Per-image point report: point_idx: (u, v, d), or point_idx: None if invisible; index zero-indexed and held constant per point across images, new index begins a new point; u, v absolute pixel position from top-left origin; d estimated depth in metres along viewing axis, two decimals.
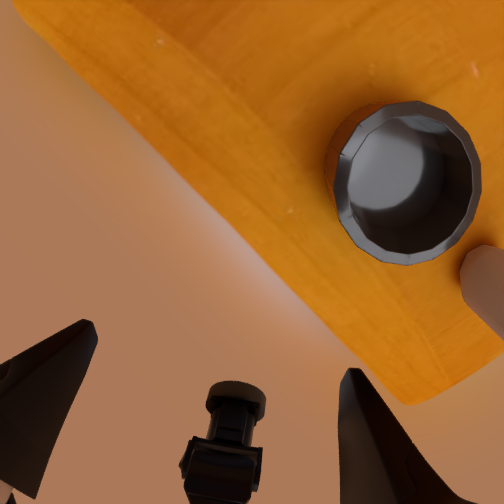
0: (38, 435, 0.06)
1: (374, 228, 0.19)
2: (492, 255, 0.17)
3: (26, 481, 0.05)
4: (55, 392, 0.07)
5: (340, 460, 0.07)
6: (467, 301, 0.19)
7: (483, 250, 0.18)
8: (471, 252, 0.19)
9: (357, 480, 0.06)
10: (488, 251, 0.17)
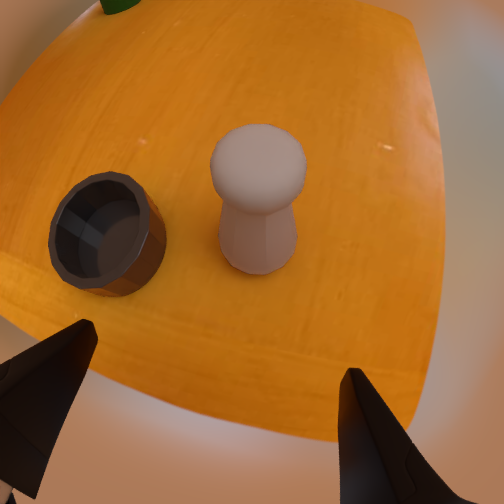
0: (38, 435, 0.06)
1: None
2: None
3: (26, 481, 0.05)
4: (55, 392, 0.07)
5: (340, 460, 0.07)
6: (244, 269, 0.21)
7: None
8: None
9: (357, 480, 0.06)
10: None
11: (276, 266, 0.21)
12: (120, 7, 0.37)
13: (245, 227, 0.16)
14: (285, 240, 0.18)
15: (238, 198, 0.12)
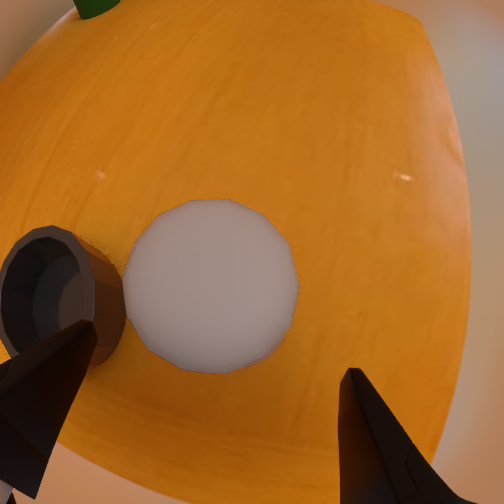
0: (38, 435, 0.06)
1: None
2: None
3: (26, 481, 0.05)
4: (55, 392, 0.07)
5: (340, 460, 0.07)
6: None
7: None
8: None
9: (357, 480, 0.06)
10: None
11: (259, 361, 0.15)
12: (96, 10, 0.32)
13: None
14: None
15: None
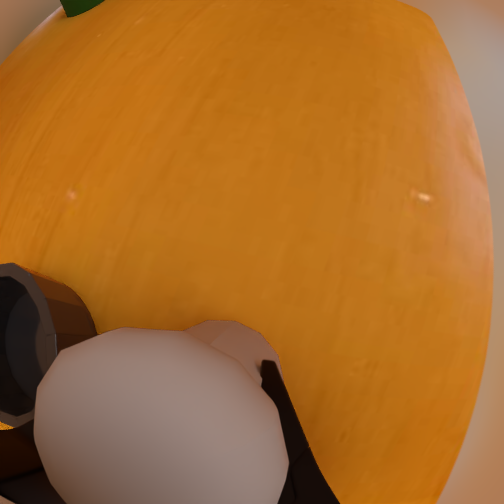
0: None
1: None
2: None
3: None
4: None
5: None
6: None
7: None
8: None
9: None
10: None
11: None
12: (82, 7, 0.28)
13: None
14: None
15: None
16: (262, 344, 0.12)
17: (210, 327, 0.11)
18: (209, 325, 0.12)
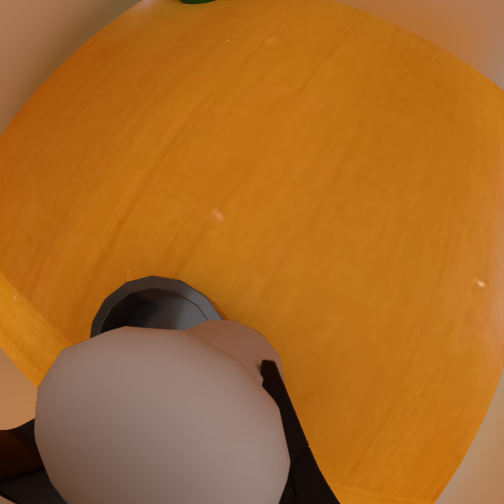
0: None
1: None
2: None
3: None
4: None
5: None
6: None
7: None
8: None
9: None
10: None
11: None
12: None
13: None
14: None
15: None
16: (263, 344, 0.12)
17: (211, 327, 0.11)
18: (210, 325, 0.12)
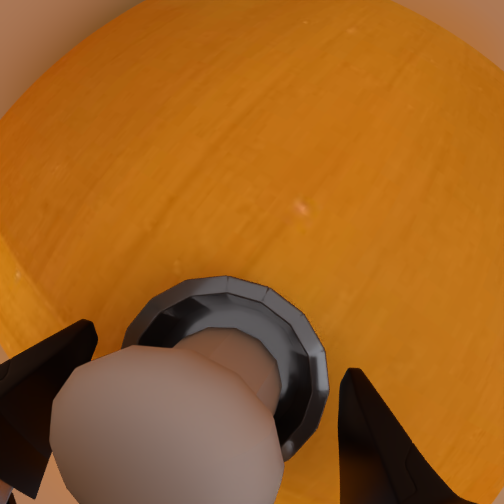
0: (38, 435, 0.06)
1: None
2: None
3: (26, 481, 0.05)
4: (55, 392, 0.07)
5: (340, 460, 0.07)
6: None
7: None
8: None
9: (357, 480, 0.06)
10: None
11: None
12: None
13: None
14: None
15: None
16: (261, 351, 0.12)
17: (211, 335, 0.11)
18: (210, 332, 0.12)
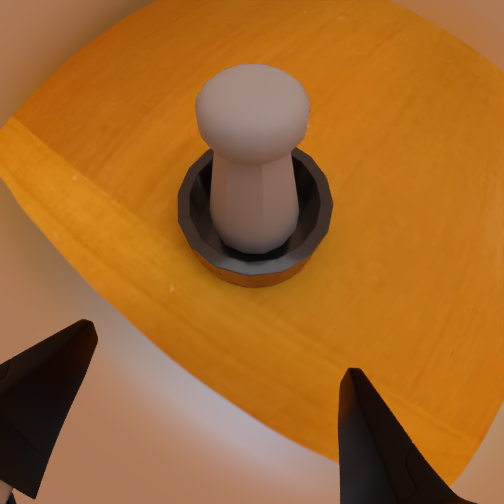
0: (38, 435, 0.06)
1: None
2: None
3: (26, 481, 0.05)
4: (55, 392, 0.07)
5: (340, 460, 0.07)
6: (239, 246, 0.18)
7: None
8: None
9: (357, 480, 0.06)
10: None
11: (276, 243, 0.18)
12: None
13: (238, 188, 0.13)
14: (286, 210, 0.16)
15: (227, 137, 0.09)
16: None
17: None
18: None
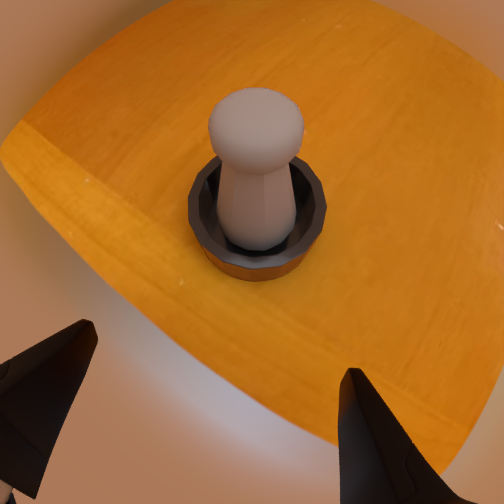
0: (38, 435, 0.06)
1: None
2: None
3: (26, 481, 0.05)
4: (55, 392, 0.07)
5: (340, 460, 0.07)
6: (243, 243, 0.20)
7: None
8: None
9: (357, 480, 0.06)
10: None
11: (275, 241, 0.20)
12: None
13: (243, 193, 0.15)
14: (284, 211, 0.18)
15: (236, 153, 0.11)
16: None
17: None
18: None
